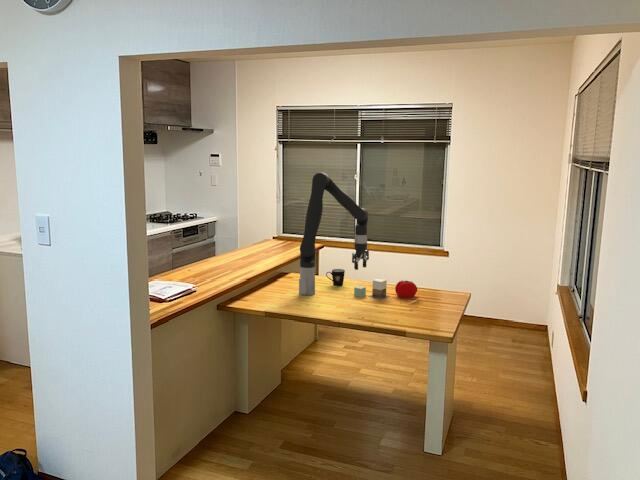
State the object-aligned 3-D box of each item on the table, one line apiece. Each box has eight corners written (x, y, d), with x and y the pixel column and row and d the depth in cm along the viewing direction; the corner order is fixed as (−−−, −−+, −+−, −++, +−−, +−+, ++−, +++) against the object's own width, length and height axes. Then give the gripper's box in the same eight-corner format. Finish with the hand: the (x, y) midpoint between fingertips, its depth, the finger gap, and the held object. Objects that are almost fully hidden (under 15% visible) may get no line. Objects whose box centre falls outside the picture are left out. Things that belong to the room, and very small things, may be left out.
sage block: (360, 298, 320) (361, 288, 319) (354, 297, 323) (354, 287, 322) (365, 296, 323) (365, 287, 322) (358, 295, 327) (359, 285, 326)
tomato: (391, 298, 320) (392, 281, 318) (398, 293, 331) (399, 277, 329) (413, 301, 314) (413, 284, 312) (419, 296, 325) (420, 279, 323)
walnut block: (380, 298, 317) (380, 290, 316) (372, 296, 321) (372, 288, 320) (386, 296, 322) (386, 288, 321) (377, 294, 325) (378, 286, 325)
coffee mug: (347, 284, 352) (347, 269, 351) (340, 287, 345) (340, 272, 344) (331, 282, 358) (332, 267, 357) (325, 284, 351) (325, 270, 350)
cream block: (380, 290, 316) (381, 281, 315) (372, 288, 320) (372, 280, 319) (386, 288, 321) (386, 280, 320) (378, 286, 325) (378, 278, 324)
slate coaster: (381, 300, 314) (381, 299, 314) (367, 297, 321) (367, 296, 321) (390, 297, 322) (390, 296, 322) (376, 294, 328) (376, 293, 328)
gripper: (359, 244, 310) (358, 271, 312) (372, 241, 321) (372, 267, 323) (348, 242, 314) (348, 269, 317) (362, 239, 325) (362, 265, 328)
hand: (360, 268), depth 320 cm, fingers open, 8 cm apart
